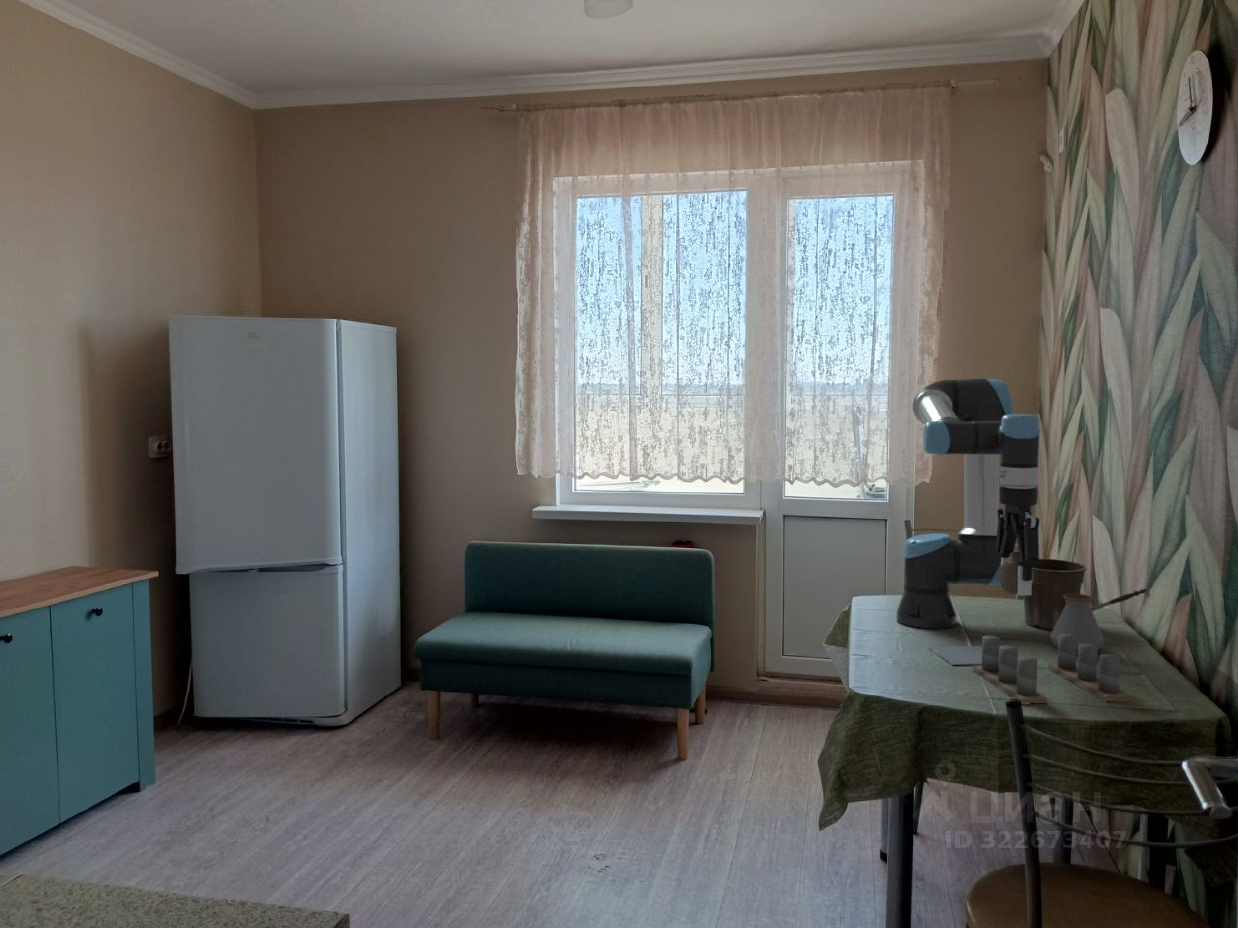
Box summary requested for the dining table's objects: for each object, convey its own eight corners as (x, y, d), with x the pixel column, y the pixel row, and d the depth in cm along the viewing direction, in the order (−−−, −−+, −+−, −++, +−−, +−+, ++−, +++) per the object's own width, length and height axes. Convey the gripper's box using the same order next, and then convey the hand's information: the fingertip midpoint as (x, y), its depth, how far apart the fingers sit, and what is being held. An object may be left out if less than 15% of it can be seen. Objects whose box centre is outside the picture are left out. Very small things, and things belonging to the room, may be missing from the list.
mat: (928, 648, 223) (928, 646, 223) (985, 647, 223) (985, 645, 223) (952, 665, 209) (952, 664, 209) (1013, 664, 209) (1013, 662, 209)
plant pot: (1097, 632, 235) (1098, 569, 234) (1032, 633, 236) (1034, 570, 234) (1067, 617, 251) (1069, 558, 250) (1007, 617, 252) (1008, 558, 250)
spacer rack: (973, 670, 205) (973, 634, 204) (1070, 668, 206) (1071, 631, 205) (1021, 704, 183) (1022, 663, 182) (1129, 701, 184) (1131, 660, 183)
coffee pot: (1058, 655, 216) (1060, 592, 214) (1043, 642, 227) (1045, 582, 226) (1157, 658, 212) (1159, 594, 211) (1137, 645, 224) (1139, 583, 222)
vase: (1037, 592, 203) (1038, 552, 202) (1026, 598, 198) (1027, 557, 197) (1005, 587, 207) (1006, 548, 206) (993, 593, 202) (994, 553, 201)
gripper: (980, 481, 210) (978, 581, 212) (1024, 492, 190) (1021, 602, 192) (1013, 480, 210) (1010, 580, 212) (1060, 491, 190) (1056, 601, 193)
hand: (1015, 590), depth 202 cm, fingers closed on vase, 7 cm apart
